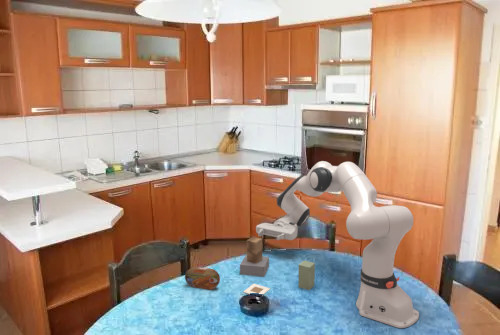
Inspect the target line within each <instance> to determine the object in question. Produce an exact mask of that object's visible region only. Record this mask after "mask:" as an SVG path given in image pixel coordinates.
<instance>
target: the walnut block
mask: <svg viewBox="0 0 500 335" xmlns="http://www.w3.org/2000/svg"><path fill="white" fill-rule="evenodd" d="M246 255H247V261H249V262H252V263H256V264H257V263H258V262H260V261H261V260H263V259H262V256H263V238H259V237H256V236H251V237H250V238H249V239H247V240H246Z"/></svg>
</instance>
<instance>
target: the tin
mask: <svg viewBox="0 0 500 335" xmlns="http://www.w3.org/2000/svg"><path fill="white" fill-rule="evenodd" d="M218 272H219V271H217V270H216V269H214V268H208V267H201V266H200V267H198V266H192V267H191V268H189V269H188V270H186V272H185V275H184V280H185V282H186V284H187V285H188V286H189V287H191V288H195V289H202V290H208V291H209V290H211V291H213V290H215V289H216V288H217V287H218V285H219V284H220V282H221V278H220V277H221V276H220V274H219V273H218Z"/></svg>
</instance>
